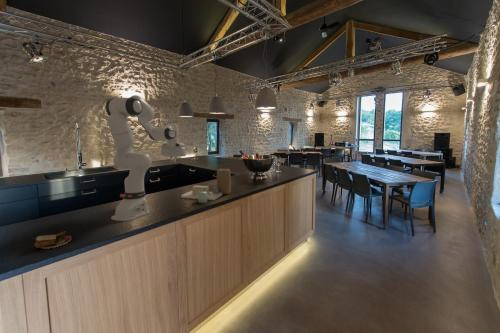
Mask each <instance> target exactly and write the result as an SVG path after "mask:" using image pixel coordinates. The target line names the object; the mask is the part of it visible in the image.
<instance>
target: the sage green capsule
mask: <svg viewBox="0 0 500 333" xmlns="http://www.w3.org/2000/svg"><path fill="white" fill-rule="evenodd" d="M197 203H200V204H203V203H204V204H205V203H208V200H207V192H206V191H200V192H198V199H197Z"/></svg>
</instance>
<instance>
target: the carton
mask: <svg viewBox="0 0 500 333" xmlns="http://www.w3.org/2000/svg"><path fill="white" fill-rule="evenodd" d="M191 191H192V194H195V195H198V192H200V191H206V192H207V194H209V192H210V185H198V184H197V185H196V184H195V185H193V186H192V187H191Z"/></svg>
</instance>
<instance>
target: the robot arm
mask: <svg viewBox="0 0 500 333" xmlns="http://www.w3.org/2000/svg"><path fill="white" fill-rule="evenodd" d="M105 110H106V111H105V112H106V113H107V115H108V117H107V124H108V128H109V132H110V134H111V137H112V139H113V142H114V145H115V149H116V152H115V154H114V157H113V165H114V166H116V167H117V168H120V169H122V170H129V173H128V176H127V177H125V179H124V193H120V195H119V197H120V198H122V200H121V201H120V203H119V204H118V205H117V206H116V207H115V212H114V215H112V216H111V220H113V221H118V222H119V221H121V222H128V221H129V222H130V221H132V220H135V219H138V218H140V217H143V216H146V215H148V214H150V210H149V208H148V202H147V199H146V190H145V176H146V173H147V171H148V169H150V168H151V166H152V162H153V159H152V157H151V155H149V154H148V153H146V152H145V153H144V152H141V151H140V152H139V151H135V152H134V150H133V146H134V145H135V143H136V139H135V136H134V133H133V131H132V128H131V126H130V124H129V121H128V119H129V118H130V117H137V121H138V123H139V124H140V125H141V127H142V128H143V129H144V130H145V132H146V133H147V135H148V136H149V138H150V139H151V140H152V141H166V144H165V143H162V145H161V152H160V154H161V156H162V157H169V158H170V160H171V162H172V163H176V162H177V159H178V157H186V156H187V152H186V151H187V150H186V147H185V146H186V144H185V143H183V142H180V138H179V135H180V134H179V133H180V132H179V131H180V130H179V125H178V124H177V123H174V122H167V124H166V125H165V126H155V125H153V124H152V122H151V121H153V119H154V117H155V110H154V108H153V107H152V106H151V105H150V104H149V103H148V102H147V101H146V100H145V99H143V97H141V96H139V95H137V94H136V95H135V94H134V95H131V96H130V97H117V98H111V99H108V100H107V101H106V102H105ZM128 117H129V118H128Z"/></svg>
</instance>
